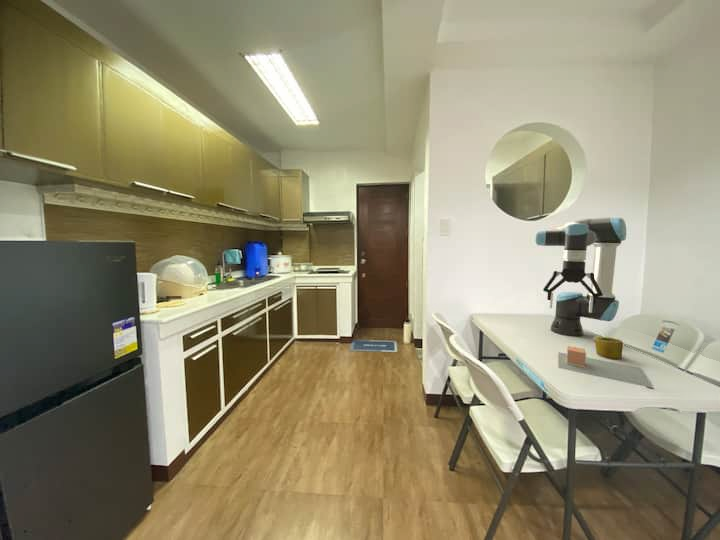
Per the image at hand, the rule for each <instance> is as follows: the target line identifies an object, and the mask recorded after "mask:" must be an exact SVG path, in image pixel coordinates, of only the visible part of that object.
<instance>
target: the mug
mask: <svg viewBox="0 0 720 540" xmlns="http://www.w3.org/2000/svg"><path fill="white" fill-rule="evenodd" d="M593 342H594V343H595V351H596V354H597V355H598V356H600V357H602V358H606V359H609V360H619V359H622V357H623V343H624V342H623V341H622V340H620V339H619V338H614V337H605V336H604V337H601V336H594V337H593Z"/></svg>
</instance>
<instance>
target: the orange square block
mask: <svg viewBox="0 0 720 540" xmlns="http://www.w3.org/2000/svg"><path fill="white" fill-rule="evenodd" d="M566 349H567V350H566V354H567V358H566V359H567V364H572V365H577V366H582V367H585V358H586V357H587V351H586V349H585V348H583V347H577V346H571V345H567V348H566Z"/></svg>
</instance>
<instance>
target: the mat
mask: <svg viewBox="0 0 720 540" xmlns="http://www.w3.org/2000/svg"><path fill="white" fill-rule="evenodd" d="M557 357H558V358H557V359H558V360H557V361H558V362H557V363H558V365H557V366H558V367H557V368H558V369H561V370H567V371H572V372H576V373H582V374H585V375H591V376H595V377H599V378H604V379H609V380H613V381H614V380H615V381H618V382H622V383H628V384H632V385H633V384H634V385H637V386H642V387H646V388H647V389H651V390H654V387H653V384H652V383H651V382H650V380H649V378H648V377H647V376H646V374H645V372H644V370H643V369H642V368H641V367H639V366H634V365H628V364H624V363H618V362H613V361H607V360H602V359H597V358H591V357H587V356H586V358H585V367H582V366H577V365H572V364H567V359H566V358H567V352H566V353H564V352H561V351H560V352H559V351H558V353H557Z"/></svg>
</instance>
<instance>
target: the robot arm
mask: <svg viewBox="0 0 720 540" xmlns="http://www.w3.org/2000/svg"><path fill="white" fill-rule="evenodd" d="M534 239H535V240H534V241H535V243H536V245H537V246H541V247H543V246H544V247H545V246H546V247H547V246H548V247H555V246H556V247H558V246H559V247H564V250H563V261H562V269H561V270H562V271H557V270H554V271H553V273H552V276H551V278H550V279H549V280H548V281H547V283H546V284H545V286H544V287H543V288H542V289H543V292H545V293H547V300H548V301H549V308H550V309H553V301H554V291H555V290H556V289H557V288H559V287H560V286H561V285H563V283H566V282H567V283H575V284H577V283H580V284H581V285H582V286H583V287H584V288H585V289H586V290H587V293H586V296H584V295H583V293H582V292H577V291H575V292H574V291H573V292H569V291H568V292H560V293H558V294H557V295H556V300H555V302H556V305H555V316H554V319H553V321H552V323H551V325H550V330H551V332H554V333H555V334H558V335H562V336H564V335H565V336H569V337H581V336H583V335H584V329H583V326H582V323H581V318H587V319H593V320H598V321H604V322H612V321H613V320H614V319H615V318H616V315H617V314H618V310H619V305H620V301H619V300H618V299H616V295H614V294H613V285H614V278H615V277H614V276H615V265H616V256H617V255H616V254H617V247H619V246H620V245H621V244H622V241H626V239H627V225H626V222H625V219H623V218H622V217H601V218H600V217H599V218H597V217H596V218H583V219H579V220H574V221H571V222H567V223H566V224H565V225H564V226H560V227H556V228H552V229H540V230H537V231H536V234H535V236H534ZM589 246H594V256H593V265H592V272H588V273H587V272H585V271H586V259H587V247H589ZM559 276H561V277H562V278H561V279H560V280H559V281H558V282H557V283H555V284H554V285H553V286H552V287H551V285H552V284H553V282H554V281H555V279H556V278H557V277H559ZM585 277H587V278H588V279H590V282H591V284H590V285H591V286H589V285H588V284H587V282H585V281H584V280H583V279H584V278H585ZM549 287H550V288H549Z"/></svg>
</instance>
